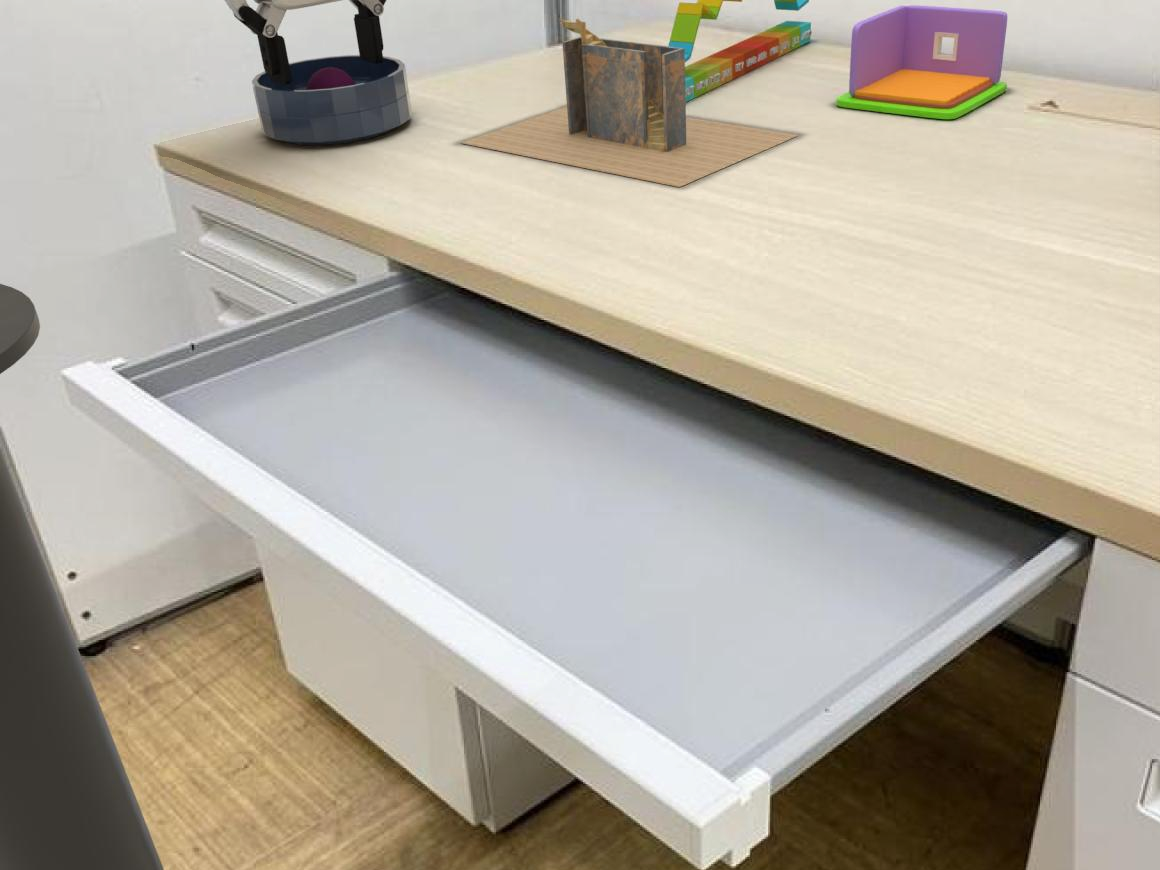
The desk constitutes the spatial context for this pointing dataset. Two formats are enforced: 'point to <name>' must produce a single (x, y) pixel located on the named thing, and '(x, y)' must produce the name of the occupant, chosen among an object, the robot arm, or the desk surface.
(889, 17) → the dollhouse room
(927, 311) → the desk surface
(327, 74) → the plum
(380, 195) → the desk surface
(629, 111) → the architectural model on board
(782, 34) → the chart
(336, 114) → the bowl
